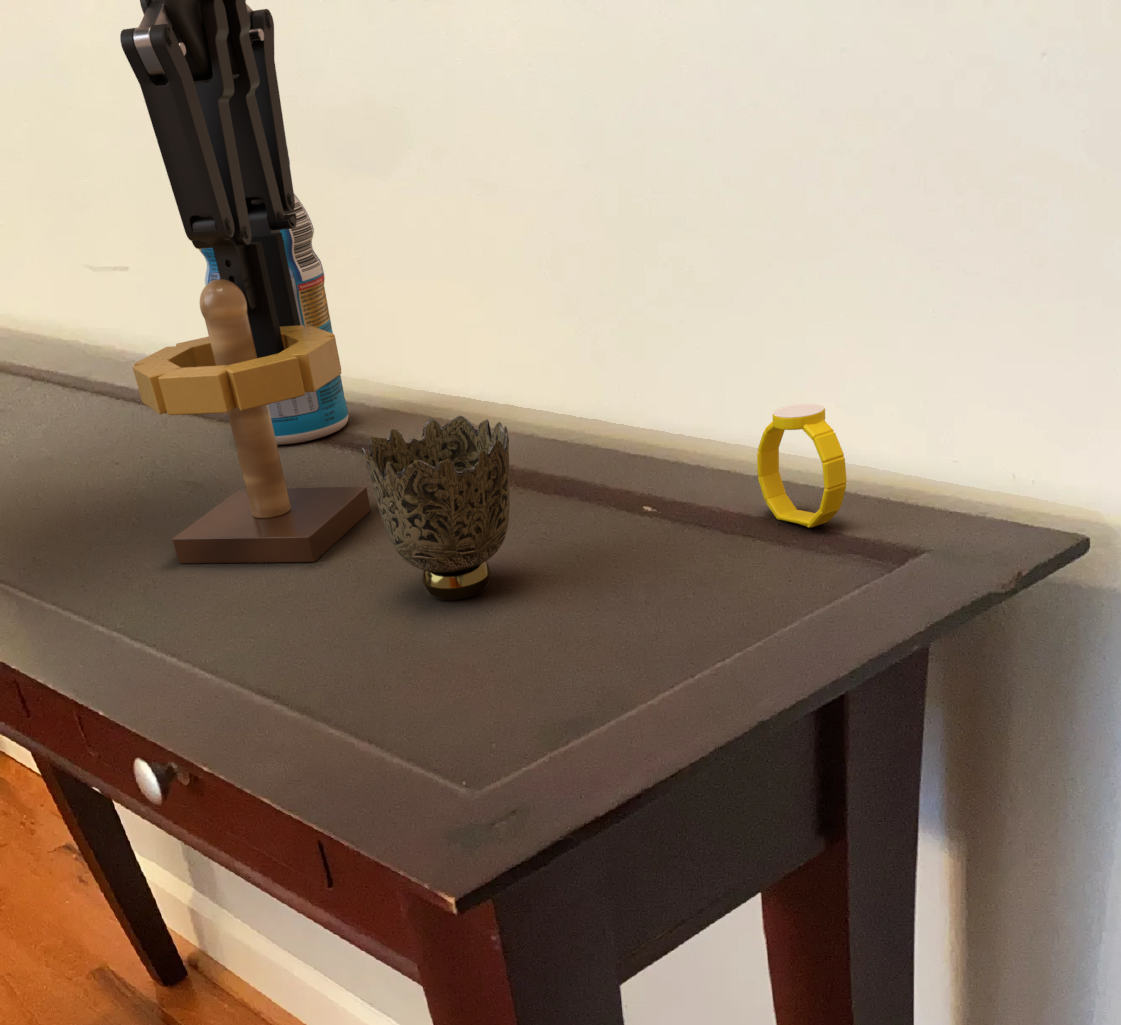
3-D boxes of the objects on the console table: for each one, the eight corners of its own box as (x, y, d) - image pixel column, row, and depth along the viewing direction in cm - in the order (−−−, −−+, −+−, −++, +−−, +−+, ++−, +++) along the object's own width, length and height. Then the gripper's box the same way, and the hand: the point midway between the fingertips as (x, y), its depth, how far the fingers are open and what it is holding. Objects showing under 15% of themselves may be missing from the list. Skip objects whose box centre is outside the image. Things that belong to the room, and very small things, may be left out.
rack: (178, 563, 82) (105, 302, 73) (244, 512, 89) (184, 268, 80) (314, 562, 79) (255, 292, 71) (371, 510, 86) (323, 257, 78)
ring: (111, 418, 76) (100, 380, 75) (204, 366, 85) (195, 331, 83) (287, 410, 73) (278, 370, 72) (365, 357, 81) (359, 321, 80)
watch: (856, 527, 74) (859, 412, 71) (817, 540, 73) (818, 425, 70) (785, 504, 79) (784, 395, 75) (747, 516, 78) (745, 406, 74)
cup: (415, 630, 69) (386, 469, 65) (373, 587, 75) (343, 436, 70) (548, 594, 71) (530, 436, 67) (497, 555, 77) (477, 406, 72)
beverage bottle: (264, 455, 99) (190, 133, 87) (227, 434, 105) (153, 130, 93) (369, 428, 102) (312, 113, 90) (327, 409, 108) (268, 111, 96)
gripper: (155, -162, 61) (277, 392, 75) (293, -153, 72) (377, 327, 87) (14, -137, 63) (159, 398, 77) (169, -132, 75) (271, 334, 89)
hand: (274, 360), depth 82 cm, fingers closed on ring, 2 cm apart
